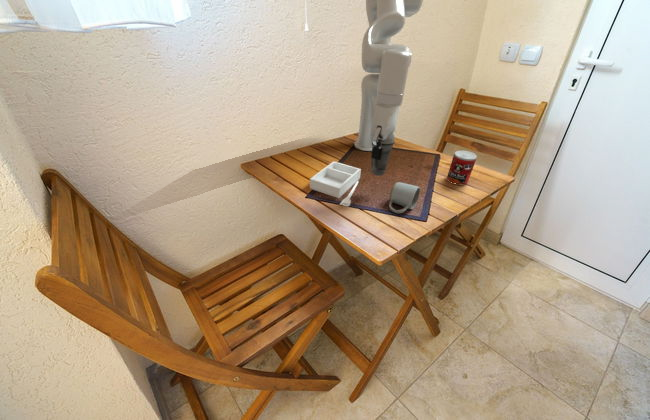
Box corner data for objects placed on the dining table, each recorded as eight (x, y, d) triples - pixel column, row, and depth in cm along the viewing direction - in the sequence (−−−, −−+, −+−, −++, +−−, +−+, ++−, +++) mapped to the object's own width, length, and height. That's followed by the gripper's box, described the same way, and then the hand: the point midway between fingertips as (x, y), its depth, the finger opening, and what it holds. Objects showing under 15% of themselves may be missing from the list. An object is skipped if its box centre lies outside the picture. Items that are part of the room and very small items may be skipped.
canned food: (443, 180, 111) (451, 154, 104) (451, 173, 116) (459, 148, 109) (462, 188, 107) (472, 161, 100) (470, 180, 112) (480, 154, 105)
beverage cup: (388, 179, 94) (399, 119, 82) (366, 176, 95) (374, 116, 83) (389, 168, 100) (399, 111, 88) (368, 166, 101) (375, 108, 89)
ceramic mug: (395, 195, 101) (399, 176, 97) (417, 202, 98) (422, 183, 93) (382, 209, 94) (386, 190, 90) (406, 218, 91) (411, 198, 86)
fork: (362, 183, 109) (362, 179, 108) (346, 211, 93) (347, 206, 92) (353, 182, 110) (354, 177, 109) (337, 208, 94) (337, 204, 93)
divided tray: (333, 170, 116) (333, 161, 113) (359, 178, 111) (361, 169, 108) (309, 188, 104) (309, 178, 101) (338, 198, 99) (339, 188, 96)
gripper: (388, 89, 90) (380, 142, 101) (365, 103, 78) (358, 161, 89) (411, 93, 87) (400, 147, 98) (391, 108, 75) (381, 168, 86)
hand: (380, 153), depth 93 cm, fingers closed on beverage cup, 7 cm apart
